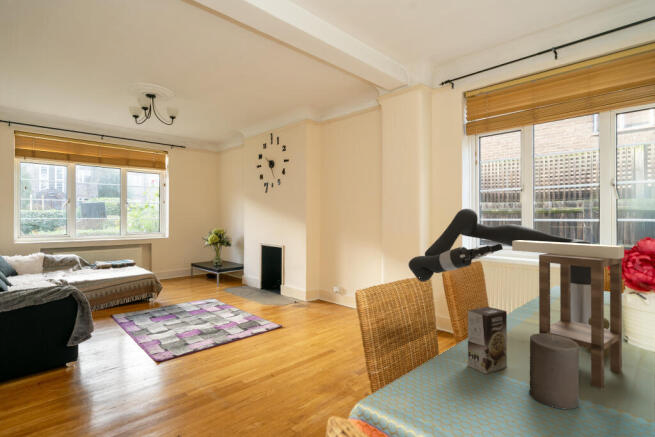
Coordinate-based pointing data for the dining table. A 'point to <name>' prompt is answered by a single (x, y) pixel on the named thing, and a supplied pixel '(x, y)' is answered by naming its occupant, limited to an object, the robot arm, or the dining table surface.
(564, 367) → the pillar candle
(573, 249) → the cutlery box
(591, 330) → the walnut shelf
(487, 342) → the coffee box
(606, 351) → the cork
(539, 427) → the dining table surface
